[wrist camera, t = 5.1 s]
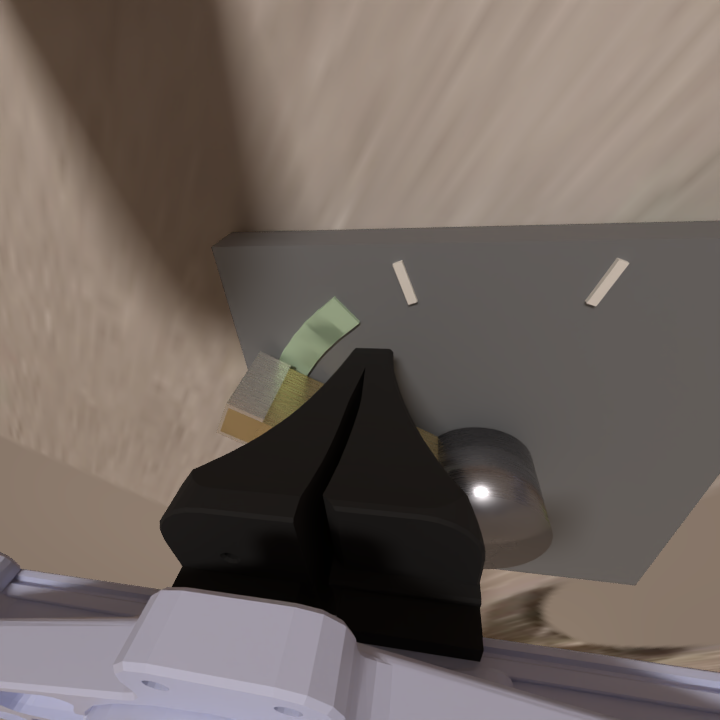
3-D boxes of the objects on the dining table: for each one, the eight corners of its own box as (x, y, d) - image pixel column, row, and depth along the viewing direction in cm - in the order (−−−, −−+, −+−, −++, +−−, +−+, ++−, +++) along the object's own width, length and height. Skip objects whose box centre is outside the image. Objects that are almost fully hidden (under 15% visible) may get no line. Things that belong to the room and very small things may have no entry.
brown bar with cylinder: (272, 320, 13) (234, 375, 10) (558, 457, 14) (584, 532, 12) (240, 402, 15) (205, 461, 13) (486, 510, 17) (496, 581, 14)
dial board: (844, 217, 10) (906, 237, 9) (623, 556, 21) (636, 588, 19) (231, 232, 13) (209, 248, 12) (307, 522, 24) (299, 548, 22)
